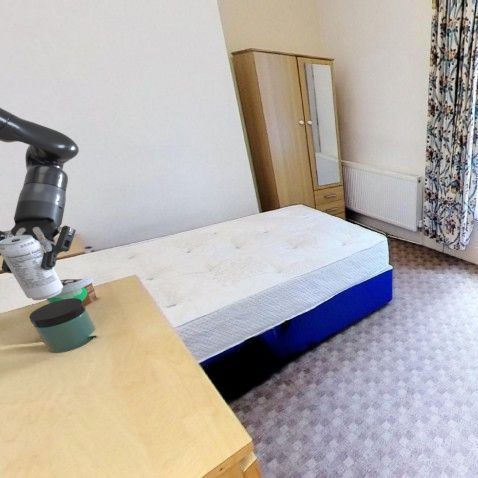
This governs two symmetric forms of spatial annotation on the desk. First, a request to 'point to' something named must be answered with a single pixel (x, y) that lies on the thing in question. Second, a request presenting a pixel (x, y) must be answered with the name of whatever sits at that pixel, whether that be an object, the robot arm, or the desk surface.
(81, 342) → the jar
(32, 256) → the energy drink can
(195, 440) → the desk surface
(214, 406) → the desk surface
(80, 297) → the food container
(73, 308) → the jar lid
